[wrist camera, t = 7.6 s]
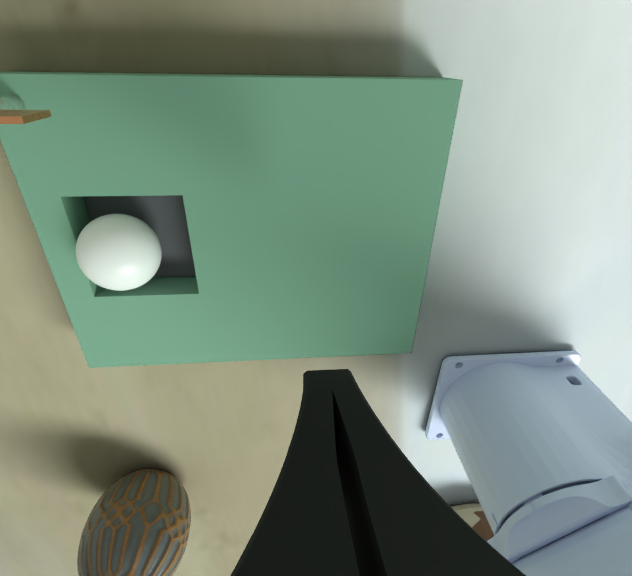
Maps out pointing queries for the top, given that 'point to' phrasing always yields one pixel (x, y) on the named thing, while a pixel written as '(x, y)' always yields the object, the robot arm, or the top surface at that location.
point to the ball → (118, 252)
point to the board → (239, 207)
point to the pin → (18, 111)
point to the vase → (136, 527)
